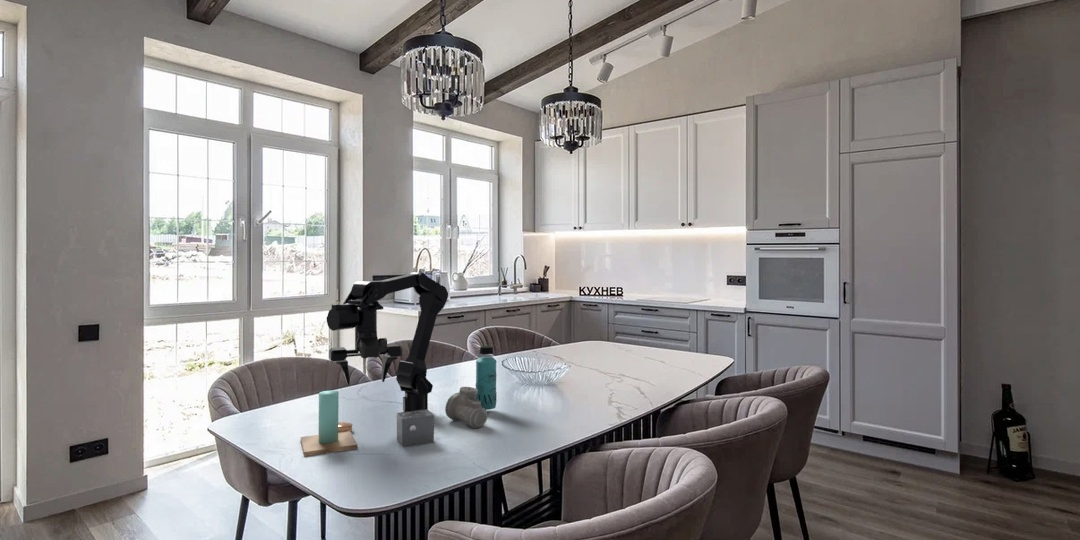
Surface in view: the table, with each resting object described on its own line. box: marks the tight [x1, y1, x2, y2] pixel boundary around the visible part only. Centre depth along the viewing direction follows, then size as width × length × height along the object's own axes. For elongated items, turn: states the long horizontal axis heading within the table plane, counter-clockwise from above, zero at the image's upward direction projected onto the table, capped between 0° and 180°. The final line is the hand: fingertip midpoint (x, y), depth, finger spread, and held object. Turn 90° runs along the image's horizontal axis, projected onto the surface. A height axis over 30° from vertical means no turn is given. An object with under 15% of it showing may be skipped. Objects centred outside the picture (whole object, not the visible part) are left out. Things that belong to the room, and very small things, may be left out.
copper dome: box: [338, 421, 353, 433], centre depth 149 cm, size 6×6×2 cm
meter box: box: [396, 409, 435, 448], centre depth 141 cm, size 8×7×7 cm
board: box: [300, 431, 358, 457], centre depth 139 cm, size 12×12×1 cm
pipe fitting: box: [444, 386, 488, 429], centre depth 156 cm, size 12×8×10 cm
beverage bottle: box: [474, 345, 498, 411], centre depth 168 cm, size 6×7×20 cm
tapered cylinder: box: [318, 390, 340, 444], centre depth 139 cm, size 5×5×12 cm
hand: (366, 383), depth 153 cm, fingers open, 9 cm apart
